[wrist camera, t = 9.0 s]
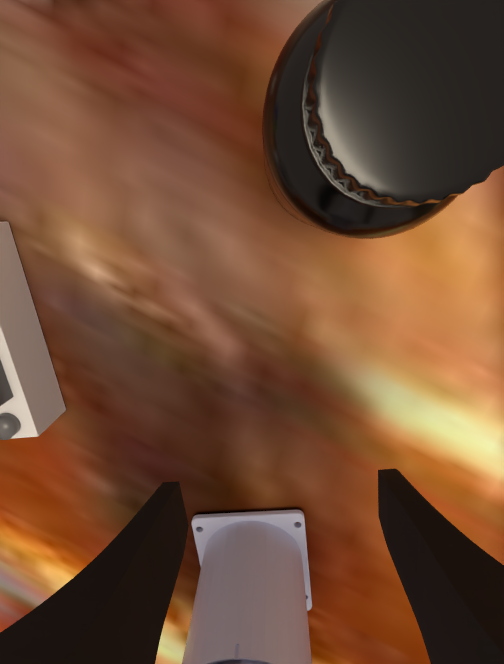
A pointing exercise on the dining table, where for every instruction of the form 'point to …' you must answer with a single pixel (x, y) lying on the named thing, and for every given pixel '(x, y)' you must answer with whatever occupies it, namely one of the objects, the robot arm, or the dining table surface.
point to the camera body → (23, 354)
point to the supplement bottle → (385, 112)
